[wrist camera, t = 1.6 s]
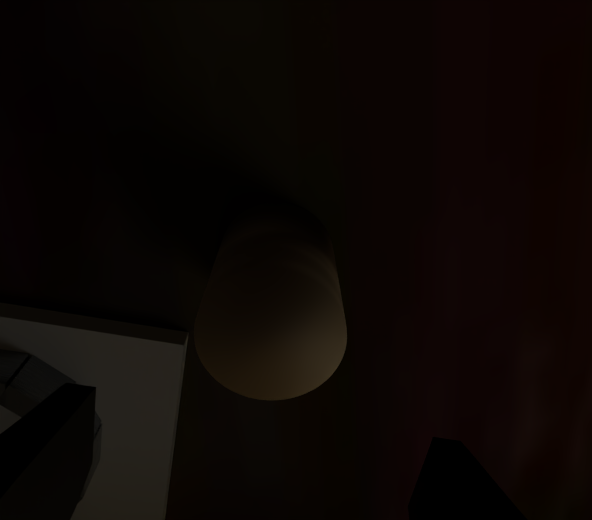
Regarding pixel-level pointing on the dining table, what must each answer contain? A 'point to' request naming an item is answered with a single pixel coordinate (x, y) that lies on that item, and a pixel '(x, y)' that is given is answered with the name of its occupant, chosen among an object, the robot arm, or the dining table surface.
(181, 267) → the dining table surface
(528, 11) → the dining table surface
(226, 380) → the tan rounded capsule
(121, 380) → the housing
